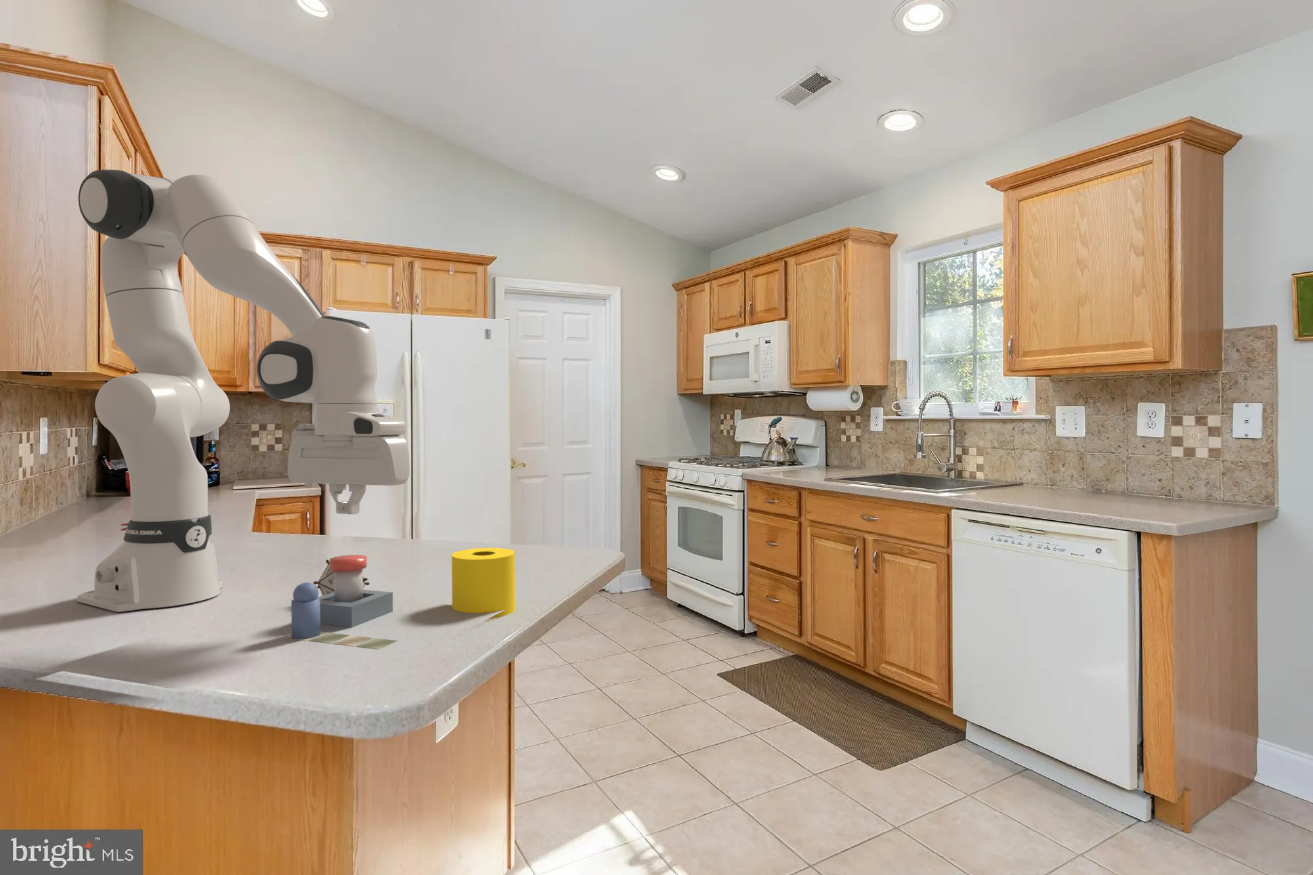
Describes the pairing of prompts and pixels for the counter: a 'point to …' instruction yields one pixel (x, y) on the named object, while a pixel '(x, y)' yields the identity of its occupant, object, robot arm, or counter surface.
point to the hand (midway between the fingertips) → (347, 513)
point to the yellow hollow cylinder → (484, 581)
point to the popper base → (355, 609)
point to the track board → (349, 640)
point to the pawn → (305, 611)
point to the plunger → (348, 577)
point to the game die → (330, 581)
